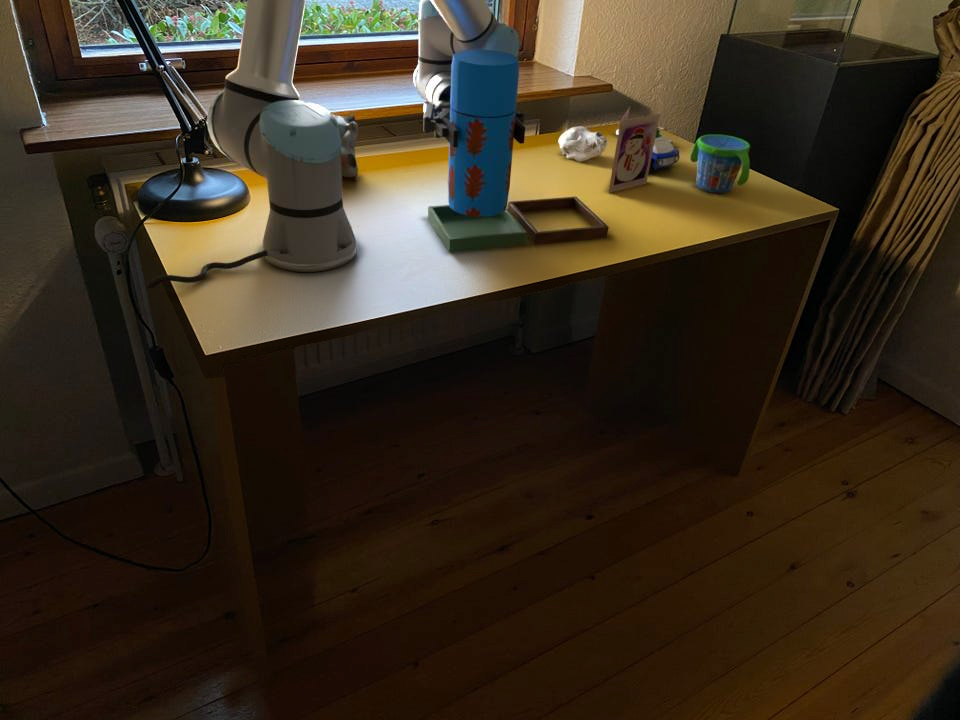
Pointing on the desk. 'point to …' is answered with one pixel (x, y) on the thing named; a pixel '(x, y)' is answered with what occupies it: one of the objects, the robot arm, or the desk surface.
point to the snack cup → (720, 162)
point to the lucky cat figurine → (348, 145)
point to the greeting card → (633, 151)
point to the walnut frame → (564, 235)
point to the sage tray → (475, 230)
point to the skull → (582, 143)
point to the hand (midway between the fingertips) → (489, 137)
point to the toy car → (663, 152)
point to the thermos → (482, 131)
